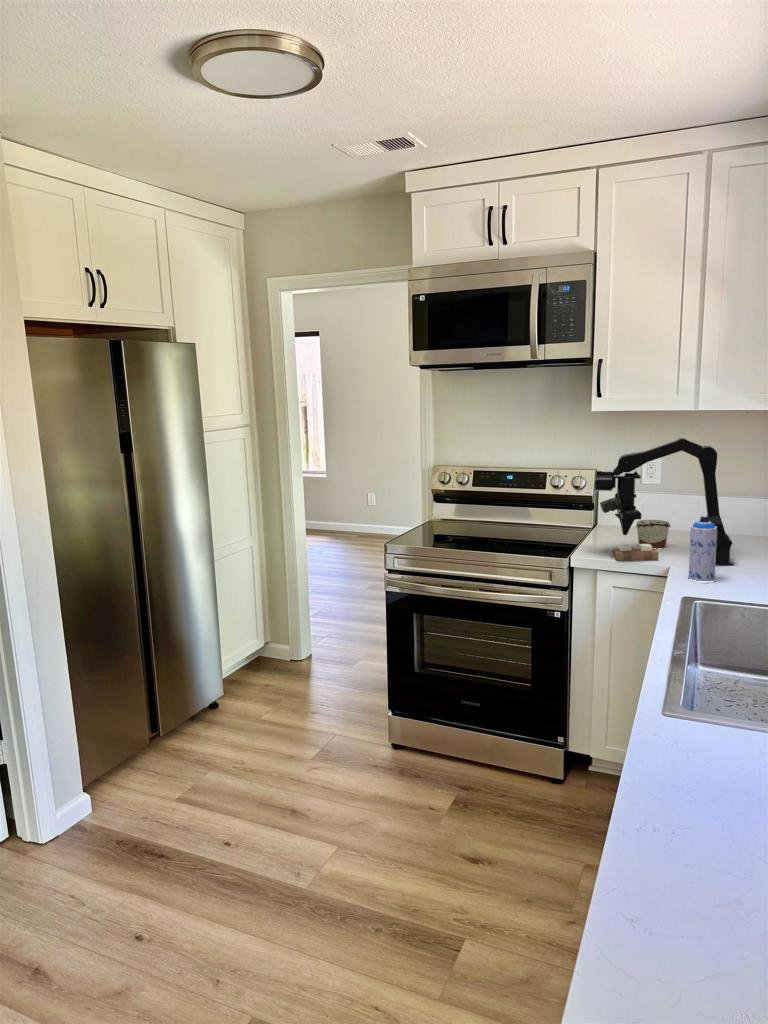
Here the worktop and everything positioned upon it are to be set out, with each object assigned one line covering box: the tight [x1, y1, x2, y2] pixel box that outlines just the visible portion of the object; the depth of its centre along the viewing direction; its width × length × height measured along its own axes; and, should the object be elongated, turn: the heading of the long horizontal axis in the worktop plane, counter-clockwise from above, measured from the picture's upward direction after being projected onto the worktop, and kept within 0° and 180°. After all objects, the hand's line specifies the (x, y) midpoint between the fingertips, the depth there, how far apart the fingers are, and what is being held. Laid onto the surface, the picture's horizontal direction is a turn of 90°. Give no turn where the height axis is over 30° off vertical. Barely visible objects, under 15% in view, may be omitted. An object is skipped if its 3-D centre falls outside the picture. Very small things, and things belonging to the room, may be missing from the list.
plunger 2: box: [638, 543, 652, 551], centre depth 246 cm, size 4×4×5 cm
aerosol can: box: [688, 516, 717, 581], centre depth 216 cm, size 8×8×20 cm
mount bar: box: [611, 547, 660, 562], centre depth 246 cm, size 7×14×3 cm, turn 85°
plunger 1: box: [617, 543, 633, 551], centre depth 247 cm, size 4×4×5 cm
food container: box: [635, 519, 671, 550], centre depth 262 cm, size 12×6×10 cm, turn 84°
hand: (624, 534), depth 246 cm, fingers closed
